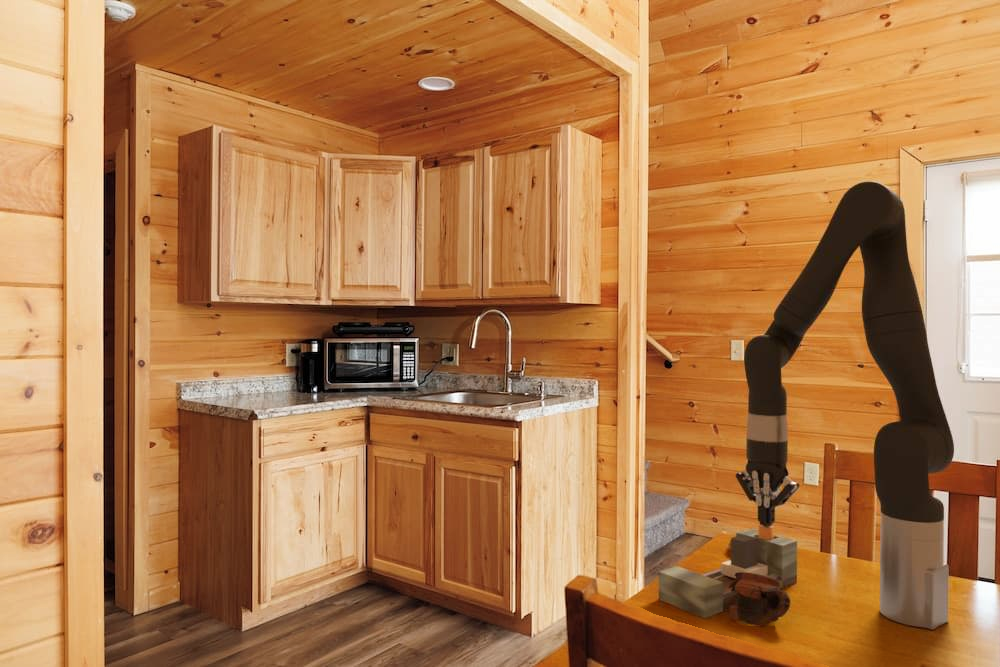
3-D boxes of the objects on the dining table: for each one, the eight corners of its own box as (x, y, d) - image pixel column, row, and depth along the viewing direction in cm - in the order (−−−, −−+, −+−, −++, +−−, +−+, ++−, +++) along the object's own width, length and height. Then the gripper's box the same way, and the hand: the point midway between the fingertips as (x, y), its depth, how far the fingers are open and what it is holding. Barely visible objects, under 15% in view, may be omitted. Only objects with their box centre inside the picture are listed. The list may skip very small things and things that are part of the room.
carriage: (767, 576, 130) (767, 539, 129) (748, 583, 126) (748, 545, 126) (739, 567, 134) (740, 531, 134) (720, 573, 131) (721, 536, 131)
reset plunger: (776, 557, 134) (776, 527, 134) (768, 560, 132) (768, 529, 132) (763, 553, 136) (763, 523, 136) (755, 556, 135) (755, 526, 135)
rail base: (796, 582, 132) (797, 540, 132) (704, 618, 115) (704, 570, 115) (750, 567, 140) (751, 528, 140) (658, 599, 123) (658, 554, 123)
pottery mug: (712, 616, 117) (719, 568, 121) (750, 632, 121) (756, 584, 124) (770, 624, 107) (775, 570, 111) (810, 641, 111) (814, 588, 114)
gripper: (809, 439, 131) (808, 530, 131) (748, 430, 142) (747, 514, 142) (787, 443, 127) (786, 537, 127) (726, 434, 137) (725, 520, 138)
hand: (766, 525), depth 134 cm, fingers closed
